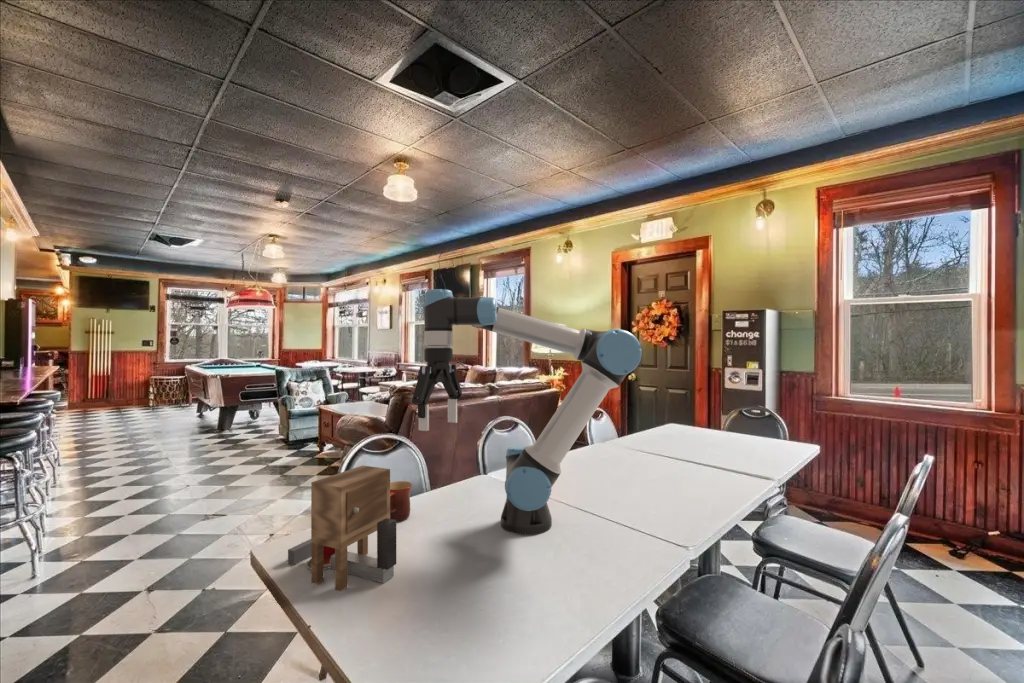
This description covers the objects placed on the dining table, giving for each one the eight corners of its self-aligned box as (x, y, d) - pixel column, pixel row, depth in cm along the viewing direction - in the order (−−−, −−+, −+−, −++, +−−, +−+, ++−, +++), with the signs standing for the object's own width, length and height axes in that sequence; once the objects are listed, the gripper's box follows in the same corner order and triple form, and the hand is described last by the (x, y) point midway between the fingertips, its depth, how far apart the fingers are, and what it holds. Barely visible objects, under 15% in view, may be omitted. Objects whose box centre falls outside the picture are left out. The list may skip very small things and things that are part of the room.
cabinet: (394, 560, 111) (393, 469, 111) (345, 592, 96) (345, 488, 97) (362, 552, 115) (362, 465, 115) (311, 582, 101) (311, 482, 101)
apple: (320, 574, 104) (320, 546, 104) (299, 566, 108) (299, 539, 108) (348, 560, 111) (348, 534, 111) (327, 553, 115) (327, 527, 115)
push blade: (397, 576, 103) (397, 519, 103) (386, 583, 99) (386, 525, 100) (341, 562, 110) (341, 509, 110) (330, 568, 107) (330, 513, 107)
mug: (391, 512, 144) (391, 480, 144) (416, 514, 142) (416, 481, 142) (372, 527, 132) (372, 492, 132) (400, 529, 130) (400, 493, 130)
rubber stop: (320, 551, 116) (320, 538, 116) (293, 565, 109) (293, 551, 109) (314, 550, 117) (314, 537, 117) (288, 563, 109) (288, 549, 109)
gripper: (451, 347, 133) (451, 418, 133) (397, 347, 111) (397, 433, 110) (473, 347, 130) (473, 420, 130) (422, 347, 107) (422, 435, 107)
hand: (438, 426), depth 120 cm, fingers open, 13 cm apart
